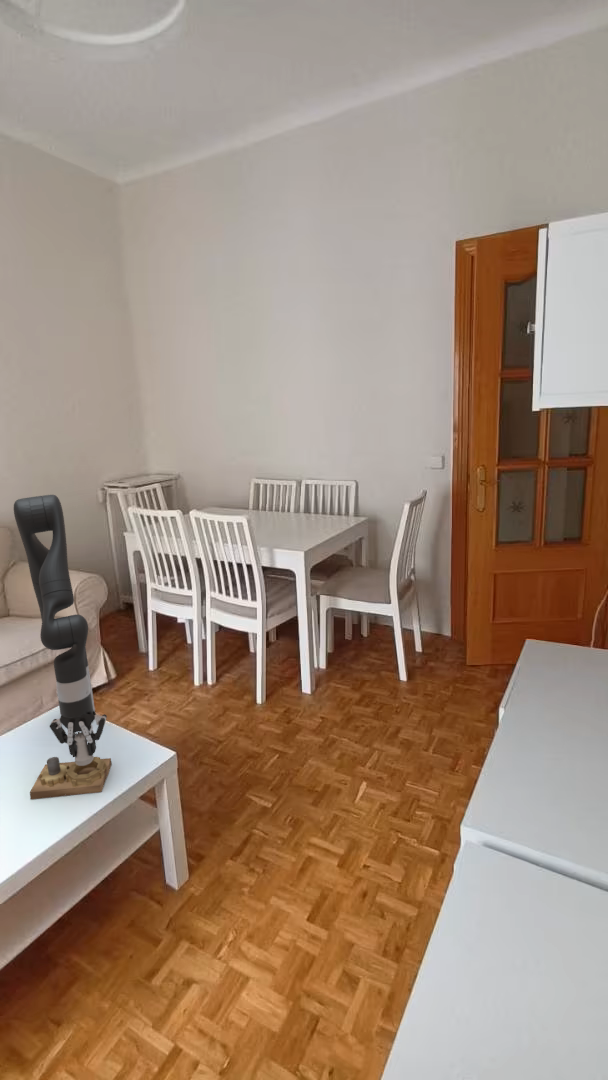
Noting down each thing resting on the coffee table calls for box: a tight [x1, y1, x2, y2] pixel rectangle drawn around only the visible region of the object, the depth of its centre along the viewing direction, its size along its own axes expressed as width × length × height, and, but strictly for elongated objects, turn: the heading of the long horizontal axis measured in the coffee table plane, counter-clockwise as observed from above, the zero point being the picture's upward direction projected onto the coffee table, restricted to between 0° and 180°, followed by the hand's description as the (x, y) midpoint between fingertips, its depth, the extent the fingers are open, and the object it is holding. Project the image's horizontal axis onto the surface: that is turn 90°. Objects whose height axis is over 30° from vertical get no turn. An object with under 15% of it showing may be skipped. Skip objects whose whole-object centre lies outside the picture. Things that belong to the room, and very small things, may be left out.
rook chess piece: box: [74, 731, 95, 766], centre depth 140 cm, size 4×4×8 cm
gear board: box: [29, 756, 113, 800], centre depth 141 cm, size 11×17×7 cm, turn 96°
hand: (83, 754), depth 140 cm, fingers closed on rook chess piece, 3 cm apart
